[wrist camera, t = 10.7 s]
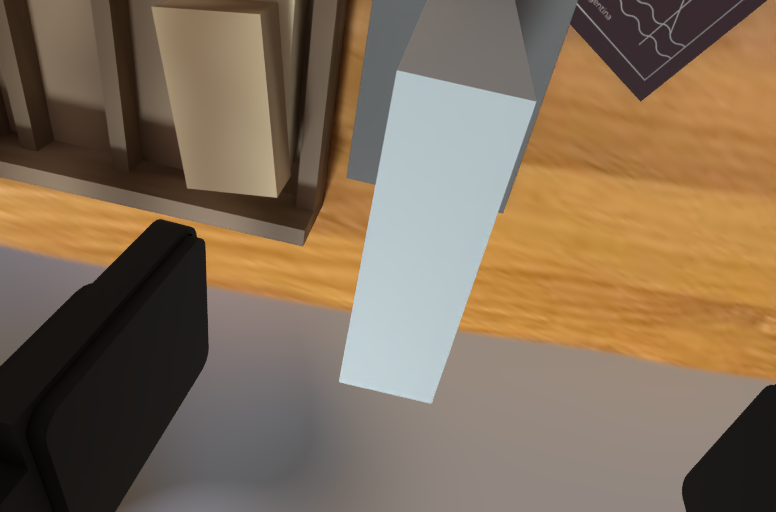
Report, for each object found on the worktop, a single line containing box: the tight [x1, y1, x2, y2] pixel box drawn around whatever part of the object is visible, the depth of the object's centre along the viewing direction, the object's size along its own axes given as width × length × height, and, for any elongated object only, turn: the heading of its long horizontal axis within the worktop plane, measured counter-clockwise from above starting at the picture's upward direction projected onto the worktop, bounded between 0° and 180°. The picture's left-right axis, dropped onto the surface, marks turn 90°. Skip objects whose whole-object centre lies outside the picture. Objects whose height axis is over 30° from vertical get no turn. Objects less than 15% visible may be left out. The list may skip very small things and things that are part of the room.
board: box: [339, 0, 536, 403], centre depth 17 cm, size 2×8×12 cm, turn 169°
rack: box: [0, 0, 348, 246], centre depth 21 cm, size 15×12×4 cm
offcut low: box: [252, 0, 308, 167], centre depth 21 cm, size 4×7×2 cm, turn 170°
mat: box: [347, 0, 578, 213], centre depth 22 cm, size 7×10×1 cm
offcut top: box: [151, 0, 291, 198], centre depth 20 cm, size 4×6×2 cm, turn 178°
